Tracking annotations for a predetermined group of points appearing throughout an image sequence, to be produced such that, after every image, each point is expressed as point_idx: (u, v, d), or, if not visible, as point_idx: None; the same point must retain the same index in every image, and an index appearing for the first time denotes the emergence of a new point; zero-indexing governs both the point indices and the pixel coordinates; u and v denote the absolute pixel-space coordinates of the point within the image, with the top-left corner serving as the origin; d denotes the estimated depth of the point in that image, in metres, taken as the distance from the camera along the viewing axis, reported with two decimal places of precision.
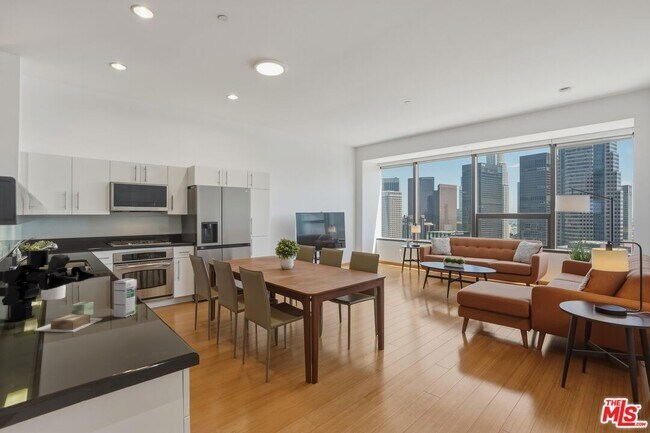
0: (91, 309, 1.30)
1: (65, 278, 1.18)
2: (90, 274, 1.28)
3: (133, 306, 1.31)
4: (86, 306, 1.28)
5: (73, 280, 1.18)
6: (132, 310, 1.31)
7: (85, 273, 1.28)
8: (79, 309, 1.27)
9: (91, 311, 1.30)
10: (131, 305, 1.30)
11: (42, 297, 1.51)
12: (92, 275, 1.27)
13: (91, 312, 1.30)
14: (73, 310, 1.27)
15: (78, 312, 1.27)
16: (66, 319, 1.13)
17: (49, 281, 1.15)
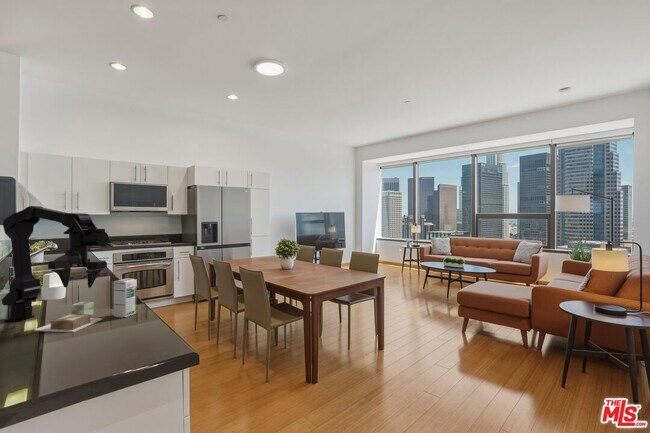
0: (91, 309, 1.30)
1: None
2: None
3: (133, 306, 1.31)
4: (86, 306, 1.28)
5: None
6: (132, 310, 1.31)
7: None
8: (79, 308, 1.27)
9: (91, 311, 1.30)
10: (131, 305, 1.30)
11: (42, 297, 1.51)
12: None
13: (91, 312, 1.30)
14: (73, 310, 1.27)
15: (78, 312, 1.27)
16: (66, 319, 1.13)
17: None
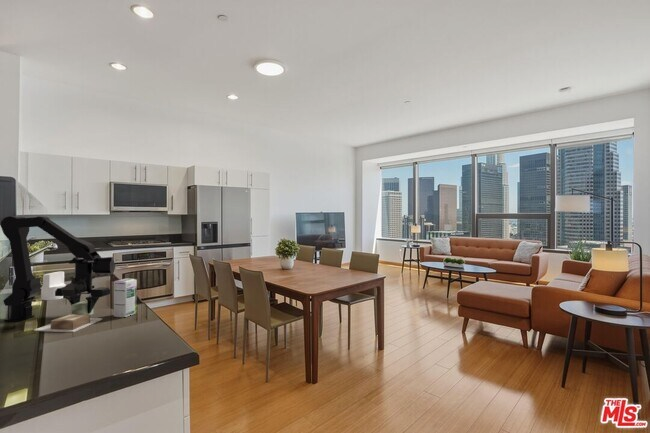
0: None
1: None
2: None
3: (133, 306, 1.31)
4: (86, 306, 1.28)
5: None
6: (132, 310, 1.31)
7: None
8: (79, 308, 1.27)
9: (91, 311, 1.30)
10: (131, 305, 1.30)
11: (42, 297, 1.51)
12: None
13: (91, 312, 1.30)
14: (73, 309, 1.27)
15: (78, 312, 1.27)
16: (66, 319, 1.13)
17: None
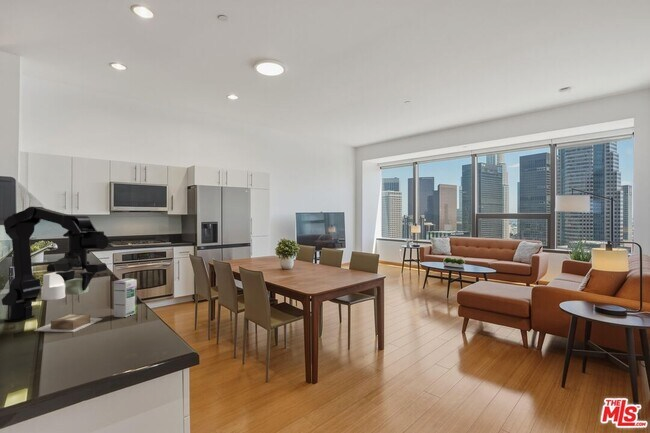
0: None
1: None
2: None
3: (133, 306, 1.31)
4: (81, 282, 1.19)
5: None
6: (132, 310, 1.31)
7: None
8: (74, 285, 1.18)
9: (86, 288, 1.22)
10: (131, 305, 1.30)
11: (42, 297, 1.51)
12: None
13: (86, 289, 1.22)
14: (66, 286, 1.18)
15: (72, 288, 1.18)
16: (66, 319, 1.13)
17: None
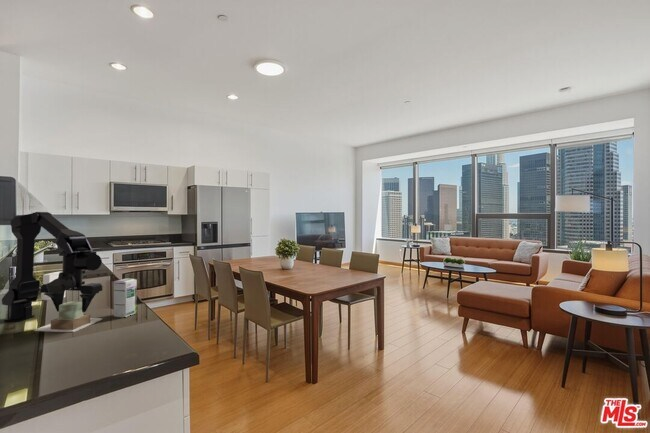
0: (80, 310, 1.17)
1: None
2: None
3: (133, 306, 1.31)
4: (75, 306, 1.15)
5: None
6: (132, 310, 1.31)
7: None
8: (68, 309, 1.14)
9: (81, 312, 1.17)
10: (131, 305, 1.30)
11: (42, 297, 1.51)
12: None
13: (81, 313, 1.17)
14: (60, 310, 1.14)
15: (66, 313, 1.14)
16: (66, 319, 1.13)
17: None
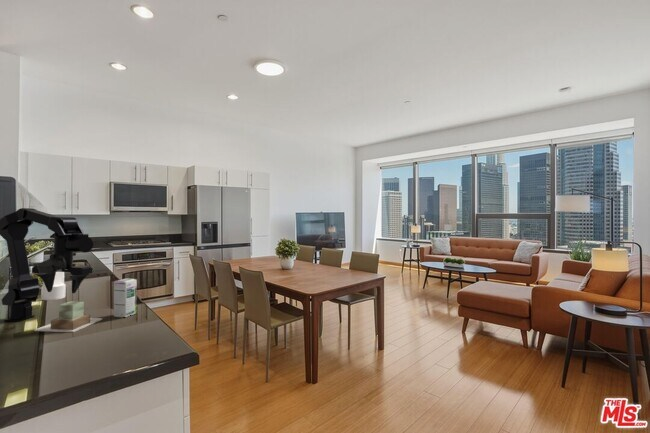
0: (80, 310, 1.17)
1: None
2: None
3: (133, 306, 1.31)
4: (75, 306, 1.15)
5: None
6: (132, 310, 1.31)
7: None
8: (68, 309, 1.14)
9: (81, 312, 1.17)
10: (131, 305, 1.30)
11: (42, 297, 1.51)
12: None
13: (81, 313, 1.17)
14: (60, 310, 1.14)
15: (66, 313, 1.14)
16: (66, 319, 1.13)
17: None
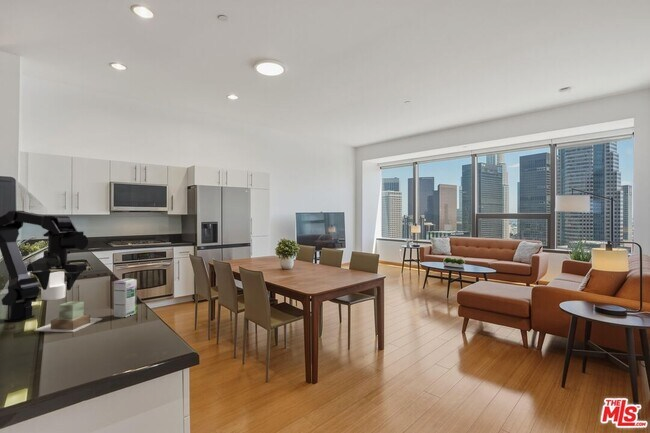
0: (80, 310, 1.17)
1: None
2: None
3: (133, 306, 1.31)
4: (75, 306, 1.15)
5: None
6: (132, 310, 1.31)
7: None
8: (68, 309, 1.14)
9: (81, 312, 1.17)
10: (131, 305, 1.30)
11: (42, 297, 1.51)
12: None
13: (81, 313, 1.17)
14: (60, 310, 1.14)
15: (66, 313, 1.14)
16: (66, 319, 1.13)
17: None
